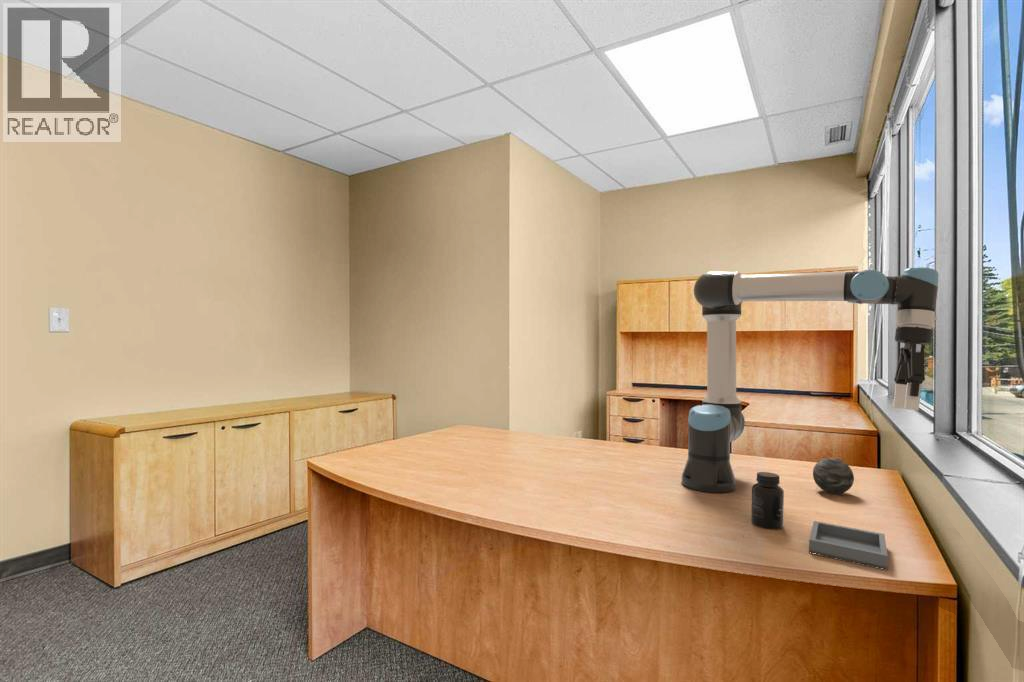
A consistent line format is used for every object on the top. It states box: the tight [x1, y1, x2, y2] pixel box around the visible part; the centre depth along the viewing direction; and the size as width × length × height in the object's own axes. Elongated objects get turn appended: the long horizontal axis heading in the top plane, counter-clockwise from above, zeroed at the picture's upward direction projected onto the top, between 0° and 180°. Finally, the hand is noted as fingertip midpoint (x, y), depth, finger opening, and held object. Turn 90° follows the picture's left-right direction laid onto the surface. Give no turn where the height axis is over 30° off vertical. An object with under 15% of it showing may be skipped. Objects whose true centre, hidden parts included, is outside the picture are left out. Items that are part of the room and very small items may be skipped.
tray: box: [808, 520, 889, 570], centre depth 106 cm, size 13×13×3 cm
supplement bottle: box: [750, 471, 785, 530], centre depth 120 cm, size 7×7×12 cm
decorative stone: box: [812, 457, 855, 495], centre depth 144 cm, size 10×10×10 cm
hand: (905, 409), depth 130 cm, fingers open, 13 cm apart
